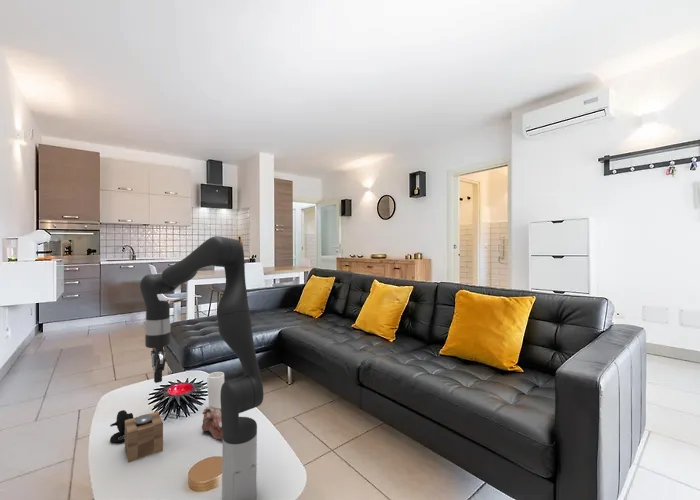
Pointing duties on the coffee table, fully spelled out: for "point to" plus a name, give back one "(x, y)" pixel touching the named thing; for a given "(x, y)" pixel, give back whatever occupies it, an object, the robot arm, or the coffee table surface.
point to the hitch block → (143, 438)
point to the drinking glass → (215, 388)
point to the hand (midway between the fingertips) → (158, 381)
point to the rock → (213, 421)
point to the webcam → (120, 427)
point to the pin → (143, 419)
